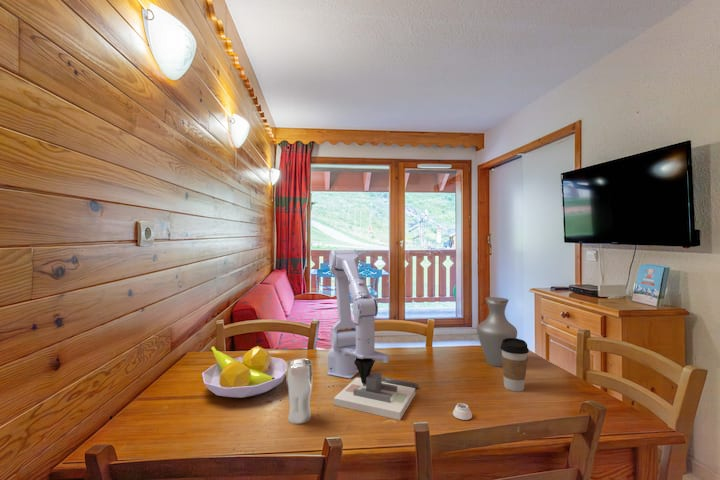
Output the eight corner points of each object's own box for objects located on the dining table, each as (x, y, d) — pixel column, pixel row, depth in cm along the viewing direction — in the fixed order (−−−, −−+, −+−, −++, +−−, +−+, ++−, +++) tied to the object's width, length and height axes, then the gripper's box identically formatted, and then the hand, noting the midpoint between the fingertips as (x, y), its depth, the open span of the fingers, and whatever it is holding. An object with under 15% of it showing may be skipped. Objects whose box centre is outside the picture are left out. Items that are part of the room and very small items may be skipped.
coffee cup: (528, 384, 113) (528, 339, 113) (528, 395, 106) (529, 347, 105) (500, 380, 117) (501, 336, 117) (499, 390, 109) (499, 343, 109)
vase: (482, 354, 142) (483, 294, 142) (520, 362, 133) (521, 298, 133) (471, 365, 130) (472, 299, 130) (512, 374, 122) (512, 304, 121)
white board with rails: (333, 404, 99) (333, 392, 99) (362, 377, 119) (362, 367, 119) (399, 420, 91) (399, 407, 91) (419, 387, 111) (419, 376, 111)
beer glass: (317, 413, 94) (317, 359, 94) (304, 427, 88) (304, 369, 88) (294, 409, 97) (294, 356, 96) (281, 422, 90) (281, 365, 90)
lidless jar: (459, 422, 90) (475, 419, 92) (459, 411, 90) (475, 408, 92) (449, 413, 95) (464, 410, 97) (449, 402, 95) (465, 400, 97)
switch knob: (366, 394, 101) (366, 377, 101) (372, 387, 106) (372, 371, 106) (375, 396, 100) (375, 379, 100) (381, 389, 104) (381, 373, 104)
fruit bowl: (305, 386, 112) (305, 351, 112) (224, 418, 92) (224, 376, 92) (259, 364, 131) (259, 334, 131) (184, 387, 111) (184, 352, 111)
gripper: (337, 338, 103) (337, 383, 103) (383, 344, 97) (382, 392, 97) (348, 332, 110) (347, 374, 110) (391, 337, 104) (390, 382, 104)
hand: (365, 382), depth 104 cm, fingers closed
